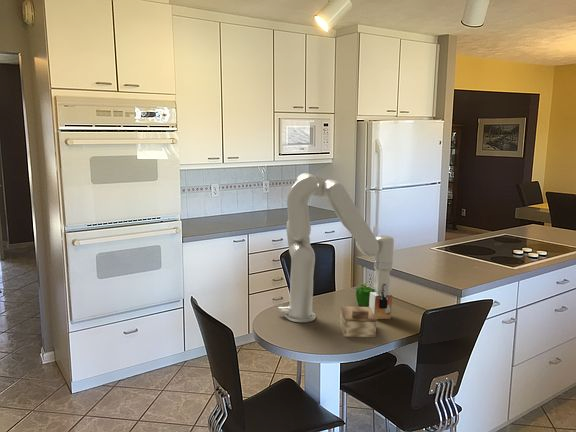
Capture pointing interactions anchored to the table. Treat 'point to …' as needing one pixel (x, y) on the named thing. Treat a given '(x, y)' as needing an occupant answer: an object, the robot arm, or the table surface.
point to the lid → (357, 313)
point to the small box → (375, 306)
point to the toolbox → (357, 328)
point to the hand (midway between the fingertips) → (380, 304)
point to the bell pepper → (363, 295)
